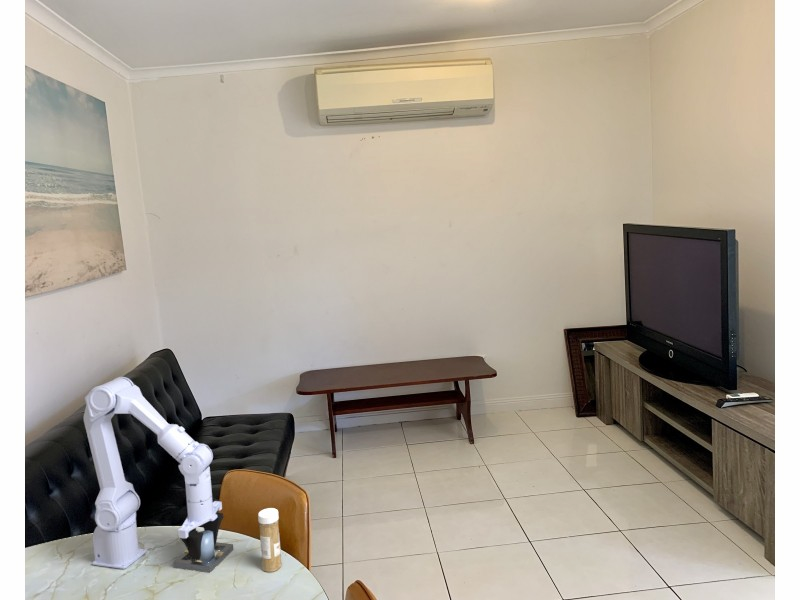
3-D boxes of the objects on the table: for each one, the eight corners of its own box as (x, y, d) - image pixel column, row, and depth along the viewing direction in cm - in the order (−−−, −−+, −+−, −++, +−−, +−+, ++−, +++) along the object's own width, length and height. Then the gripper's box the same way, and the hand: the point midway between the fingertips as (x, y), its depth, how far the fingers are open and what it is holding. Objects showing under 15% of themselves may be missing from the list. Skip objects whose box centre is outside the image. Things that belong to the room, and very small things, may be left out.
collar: (173, 567, 132) (173, 561, 132) (199, 545, 141) (198, 539, 141) (210, 572, 129) (209, 565, 129) (233, 549, 139) (233, 543, 139)
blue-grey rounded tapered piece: (205, 566, 132) (203, 542, 131) (189, 564, 133) (187, 540, 133) (220, 553, 137) (218, 530, 137) (205, 551, 139) (203, 527, 138)
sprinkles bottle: (285, 568, 130) (281, 512, 129) (266, 575, 127) (261, 518, 126) (277, 559, 134) (273, 505, 132) (259, 566, 131) (255, 511, 130)
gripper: (195, 513, 126) (200, 570, 127) (231, 485, 140) (235, 537, 141) (168, 510, 128) (173, 567, 129) (206, 483, 142) (210, 534, 143)
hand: (203, 551), depth 135 cm, fingers open, 6 cm apart
